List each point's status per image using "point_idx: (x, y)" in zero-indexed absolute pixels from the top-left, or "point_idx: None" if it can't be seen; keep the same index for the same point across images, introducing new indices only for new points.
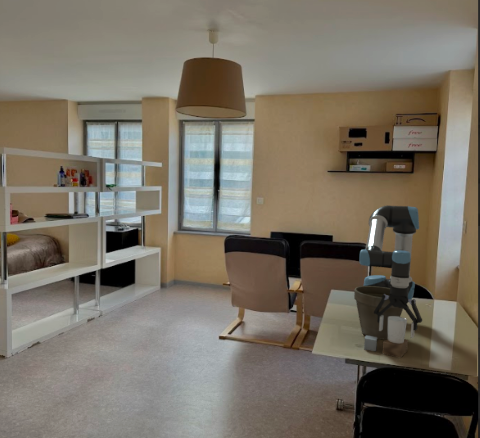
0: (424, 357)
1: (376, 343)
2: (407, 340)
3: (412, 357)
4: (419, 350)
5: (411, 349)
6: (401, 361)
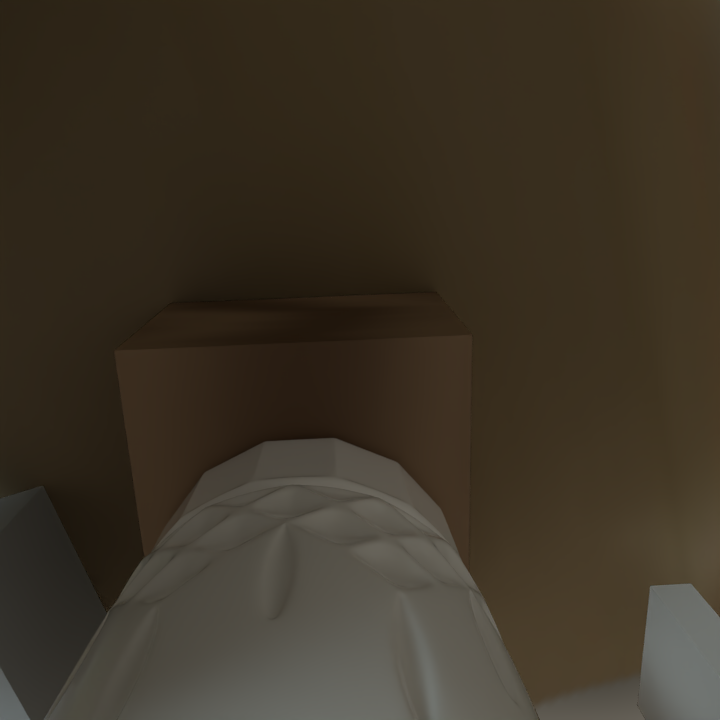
0: (700, 375)
1: (41, 617)
2: (470, 365)
3: (561, 491)
4: (589, 113)
5: (471, 165)
6: None
